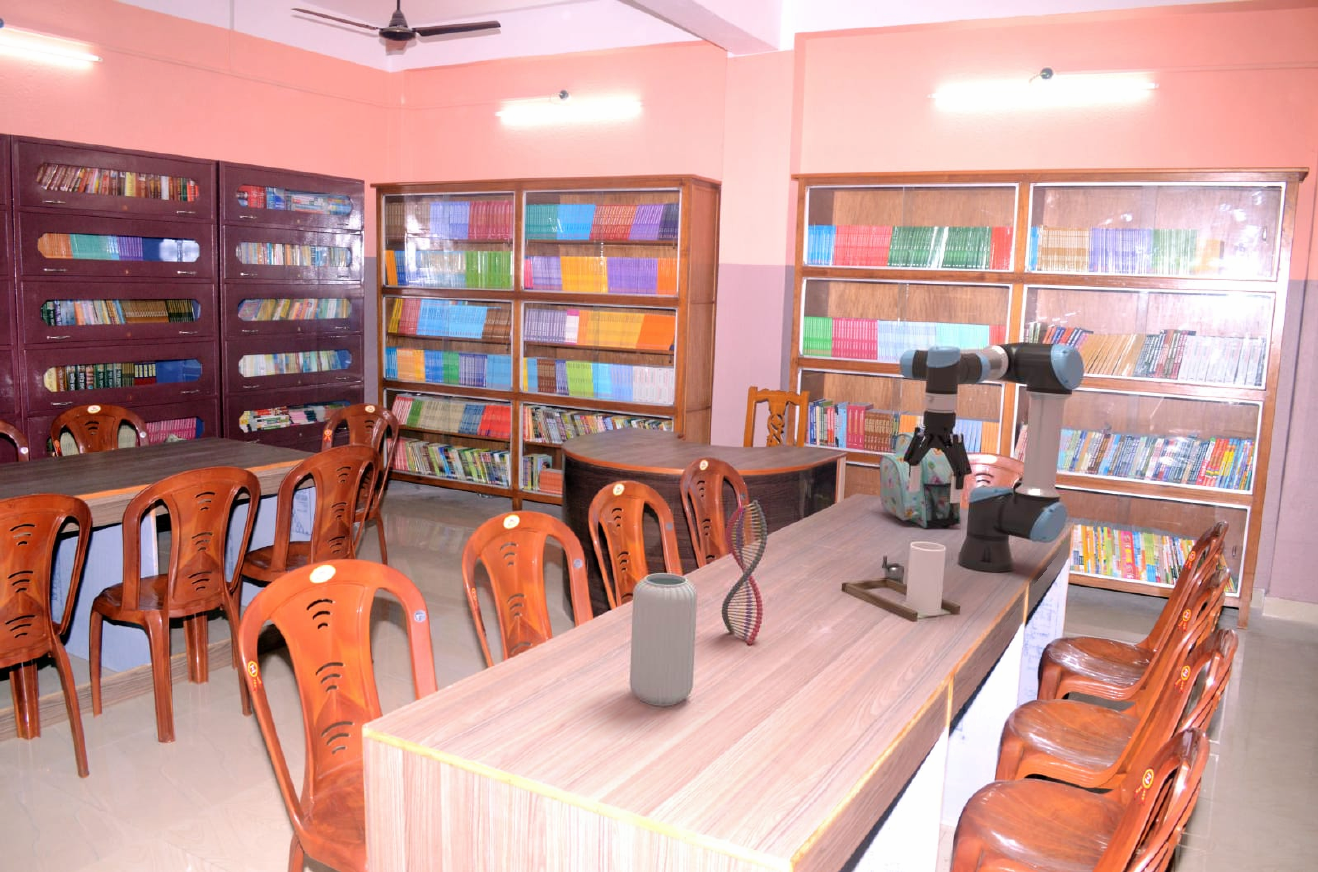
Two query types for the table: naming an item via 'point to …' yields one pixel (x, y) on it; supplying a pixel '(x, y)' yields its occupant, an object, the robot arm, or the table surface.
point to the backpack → (934, 487)
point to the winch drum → (893, 571)
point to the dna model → (745, 571)
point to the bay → (859, 591)
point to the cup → (925, 578)
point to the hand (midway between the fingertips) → (934, 497)
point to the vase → (663, 639)
